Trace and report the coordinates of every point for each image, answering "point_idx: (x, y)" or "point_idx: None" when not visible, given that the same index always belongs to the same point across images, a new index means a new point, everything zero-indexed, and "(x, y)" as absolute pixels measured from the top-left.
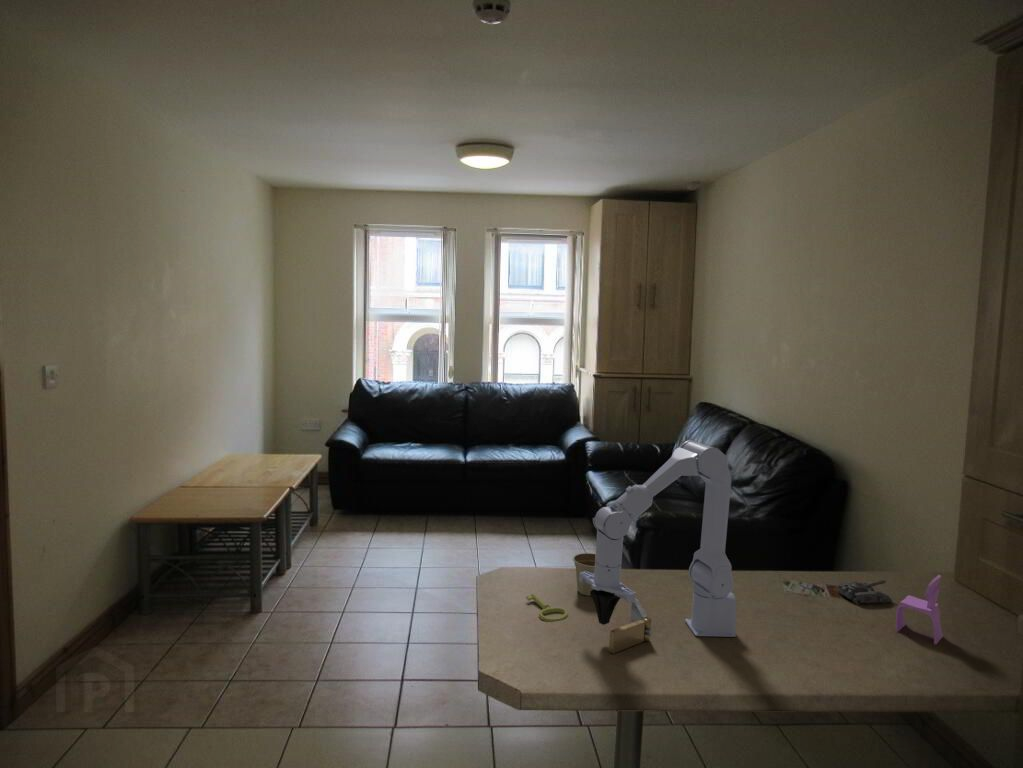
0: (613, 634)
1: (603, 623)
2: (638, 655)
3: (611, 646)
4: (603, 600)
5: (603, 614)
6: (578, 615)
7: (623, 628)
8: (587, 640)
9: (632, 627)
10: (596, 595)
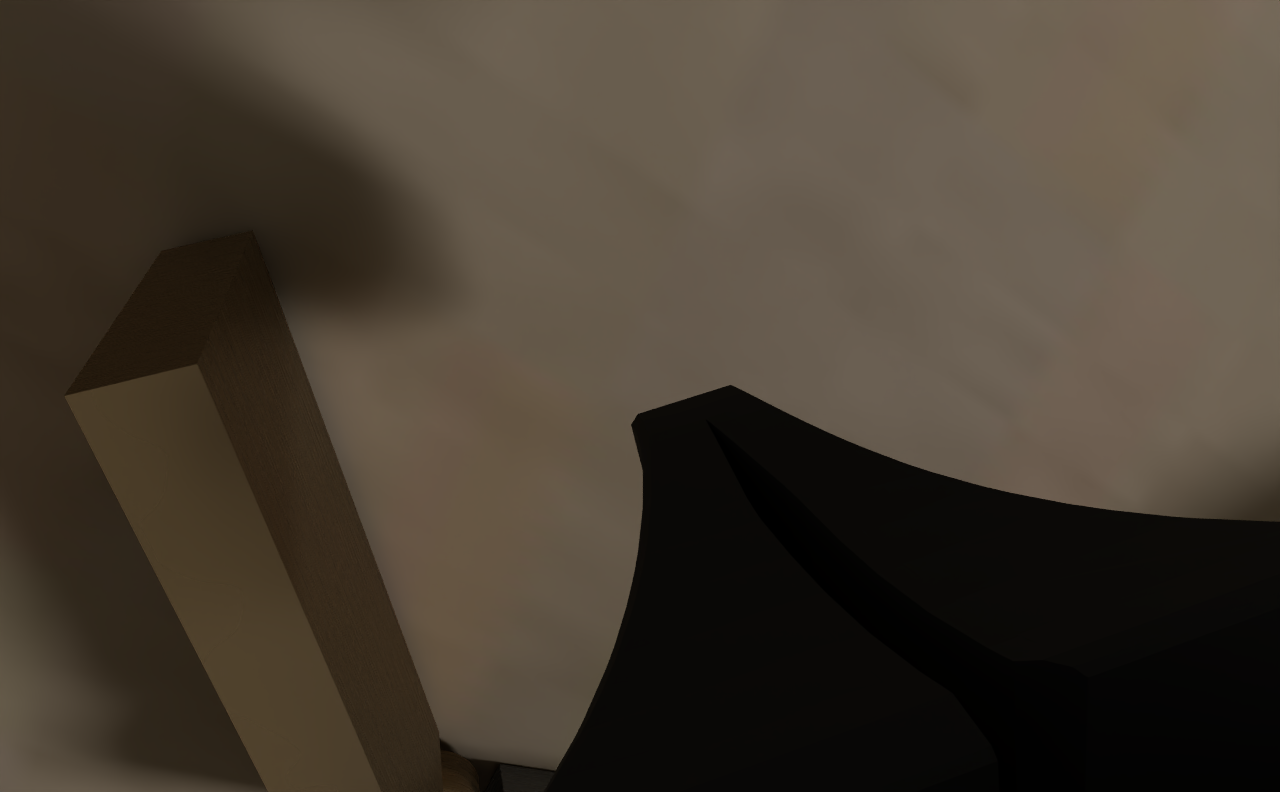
0: (98, 373)
1: (638, 429)
2: (73, 564)
3: (181, 271)
4: (691, 743)
5: (655, 503)
6: (1233, 376)
7: (232, 645)
8: (695, 127)
9: (280, 788)
10: (1051, 667)
